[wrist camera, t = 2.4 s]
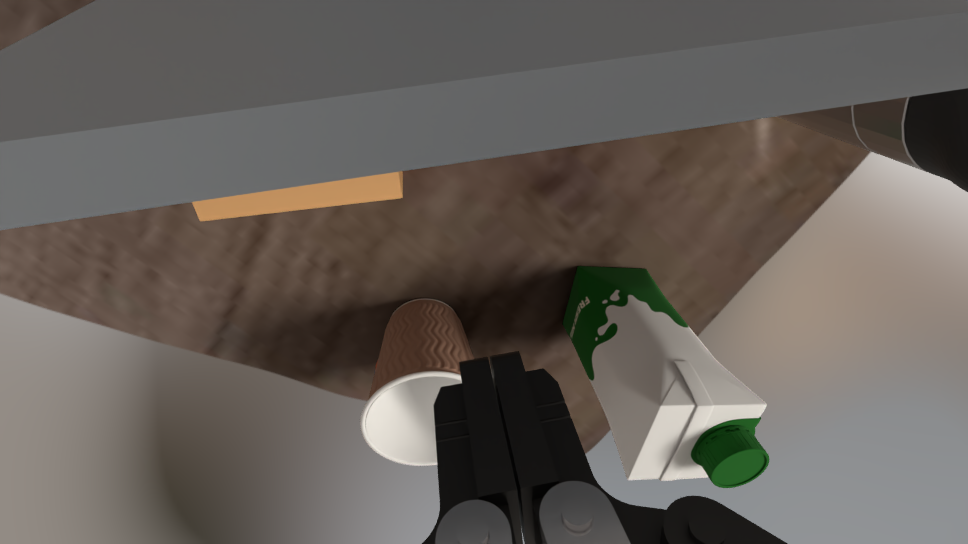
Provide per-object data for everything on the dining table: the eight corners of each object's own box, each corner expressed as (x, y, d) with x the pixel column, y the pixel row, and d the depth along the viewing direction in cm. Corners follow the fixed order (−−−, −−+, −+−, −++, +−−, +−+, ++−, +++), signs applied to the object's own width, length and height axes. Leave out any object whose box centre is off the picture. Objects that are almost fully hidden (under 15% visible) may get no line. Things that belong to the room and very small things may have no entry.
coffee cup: (347, 329, 45) (330, 431, 35) (422, 262, 42) (428, 350, 32) (424, 380, 50) (430, 482, 40) (497, 323, 47) (522, 416, 37)
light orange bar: (393, 117, 36) (392, 135, 32) (402, 173, 38) (402, 198, 34) (201, 136, 35) (173, 158, 30) (223, 193, 37) (200, 221, 33)
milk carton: (631, 331, 50) (744, 507, 34) (550, 330, 49) (627, 515, 32) (657, 260, 46) (802, 422, 29) (569, 256, 44) (669, 426, 27)
